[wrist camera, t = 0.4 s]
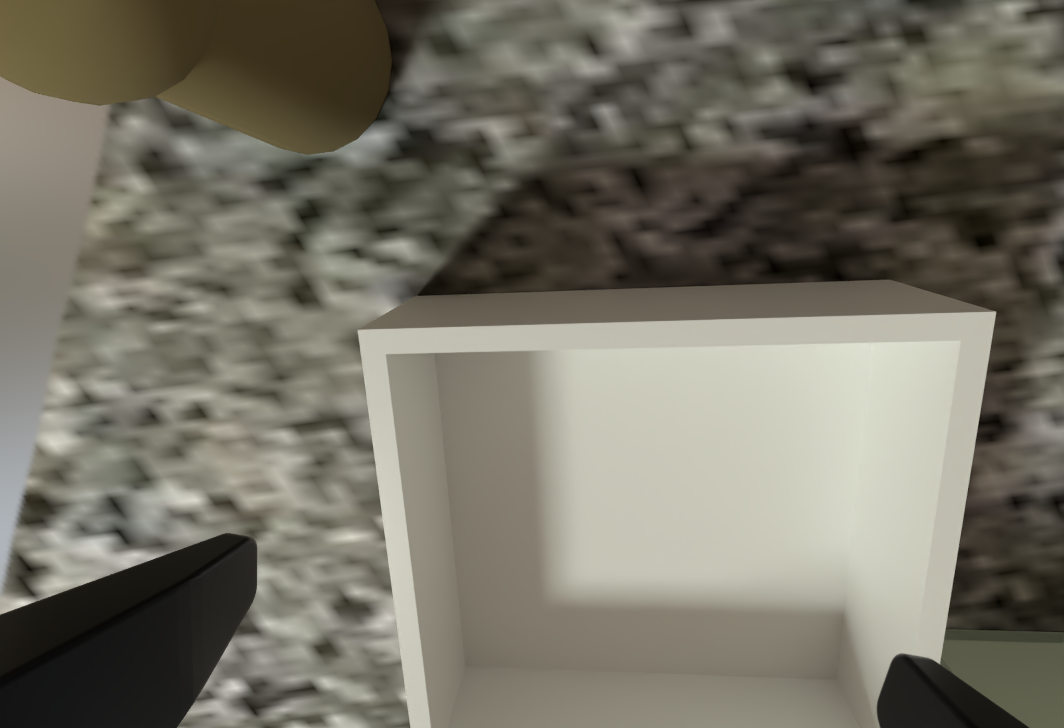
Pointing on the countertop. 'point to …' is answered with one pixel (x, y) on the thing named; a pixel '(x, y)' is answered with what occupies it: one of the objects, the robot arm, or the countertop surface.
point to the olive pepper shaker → (211, 61)
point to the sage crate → (1012, 671)
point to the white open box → (671, 498)
